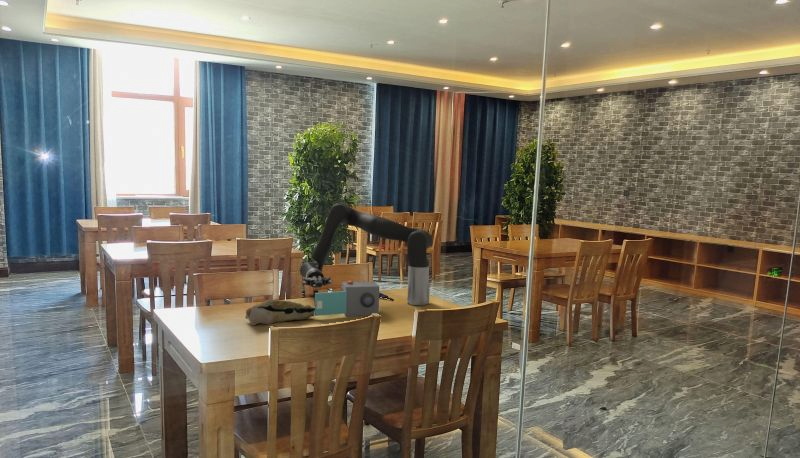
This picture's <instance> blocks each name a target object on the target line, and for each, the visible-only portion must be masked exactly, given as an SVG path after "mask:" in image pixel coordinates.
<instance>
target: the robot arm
mask: <svg viewBox="0 0 800 458" xmlns="http://www.w3.org/2000/svg"><path fill="white" fill-rule="evenodd" d="M340 225H347V226H351V227H355V228H358V229H361V230H362V231H364V232H366V233H368V234H370V235H372V236H375V237H378V238H381V239H384V240H391V241H399V242H403V243H405V244H406V249H407V250H406V254H407V255H406V257H407V261H408V267H407V268H408V272H407V275H408V276H407V300H406V301H407V304H408V303H409V304H408V305H412V306H425V305H430V292H431V291H430V287H431V284H430V283H429V276H430V272H429V271H430V260H429V259H428V257H427V256H428V255H427V254H428V253H427V250H428V249H429V248H431V246H433V245H432V244H433V237H432V235H431V233H429V231H427V230H425V229H418V228H415V227H410V226H407V225H404V224H401V223H399V222H396V221H393V220H390V219H388V218H385V217H382V216H379V215H375V214H371V213H370V214H369V213H364V212H361V211H359V210H357V209H354V208H352V207H350V206H348V205H346V204H342V203H335V204H334V205H332V206H331V207H330V209H329V212H328V215H327V218H326V222H325V224H324V227H323V229H322V232H321V235H320V237H319V239H318V242H317V243H316V246H315V247H314V249H313V251H312V253H311V254H310V255H311V256H310V257H311V258H312V260H313V261H315V262H316V263H317V265H315V264H313V263H311V262H309V261H306V262H303V263H302V264H301V265H300V268H299V274H300V276H301V277H303V278H302V285H303V286H304V285H305V286H310V287H312V288H315V289H316V288H322V287H323V286H324V287H325V286H328V285H330V284H332V278H331V277H325V275H324V274H323V268H324V264H325V261H326V259H327V257H328V256H329V253H330V251H331V249H332V247H333V242H334V236H335V232H336V231H337V229H338V228H339V226H340Z"/></svg>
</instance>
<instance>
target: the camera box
mask: <svg viewBox="0 0 800 458" xmlns="http://www.w3.org/2000/svg"><path fill="white" fill-rule="evenodd" d="M341 291H347V301H346V313H343V315H344V316H345V317H355V316H359V317H360V316H371V315H370V314H372V313H378V314H379V315H380V313H379V312H380V310H379V309H380V299H379V293H380V285H379V284H378V283H376V281H354V280H347V281H342V282H341Z"/></svg>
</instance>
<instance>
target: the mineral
mask: <svg viewBox="0 0 800 458" xmlns="http://www.w3.org/2000/svg"><path fill="white" fill-rule="evenodd" d="M312 317H315V306H312V305H309V304H307V305H304V304H302V303H299V302H295V301H290V300H283V299H281V300H279V299H278V300H274V299H265V300H264V301H262V302H261V303H258V304H255V305H254V306H253V305H252V306H250V307H249V308H247V309H246V310H245V319H246V320H248V321H249V323H250V325H251V326H255V325H257V324H263V325H264V324H265V325H270V324H271V325H272V324H273V323H283V322H287V321H289V322H292V321H293V320H294V321H297V320H298V321H300V320H306V319H310V318H312Z"/></svg>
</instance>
